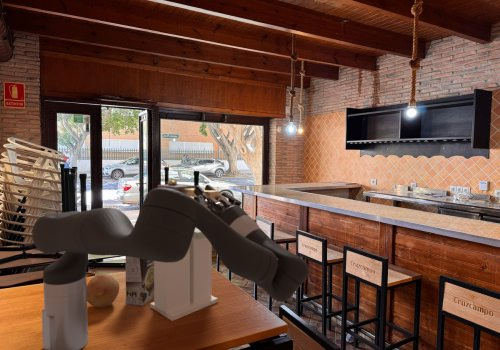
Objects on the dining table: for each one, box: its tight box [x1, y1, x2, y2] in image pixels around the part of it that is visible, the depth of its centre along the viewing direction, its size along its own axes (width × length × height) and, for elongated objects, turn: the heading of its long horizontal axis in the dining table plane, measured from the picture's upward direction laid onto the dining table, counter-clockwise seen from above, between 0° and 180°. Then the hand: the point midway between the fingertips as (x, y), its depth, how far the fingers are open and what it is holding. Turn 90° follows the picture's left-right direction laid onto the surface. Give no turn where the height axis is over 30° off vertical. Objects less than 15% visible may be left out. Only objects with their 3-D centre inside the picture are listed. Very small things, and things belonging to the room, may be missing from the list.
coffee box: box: [125, 256, 154, 307], centre depth 110 cm, size 9×6×16 cm
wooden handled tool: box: [157, 180, 220, 198], centre depth 96 cm, size 6×22×4 cm, turn 46°
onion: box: [86, 273, 120, 308], centre depth 105 cm, size 10×10×10 cm
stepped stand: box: [149, 227, 219, 322], centre depth 106 cm, size 17×12×32 cm
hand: (201, 187), depth 92 cm, fingers closed on wooden handled tool, 3 cm apart
